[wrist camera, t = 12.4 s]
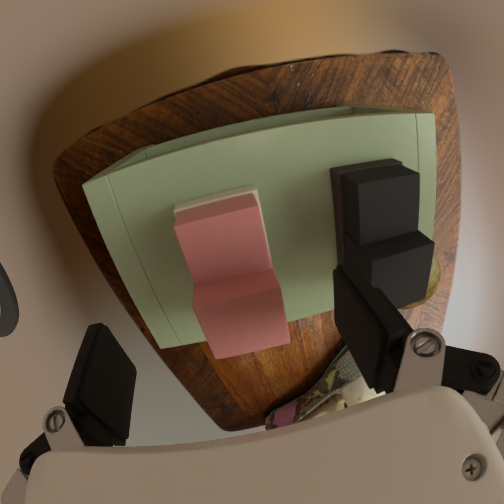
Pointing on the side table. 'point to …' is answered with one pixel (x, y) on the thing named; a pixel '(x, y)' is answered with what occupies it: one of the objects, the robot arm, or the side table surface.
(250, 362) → the side table surface
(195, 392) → the side table surface
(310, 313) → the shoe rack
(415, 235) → the black stepped block
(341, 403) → the ballet flat
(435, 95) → the side table surface
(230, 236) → the pink stepped block
